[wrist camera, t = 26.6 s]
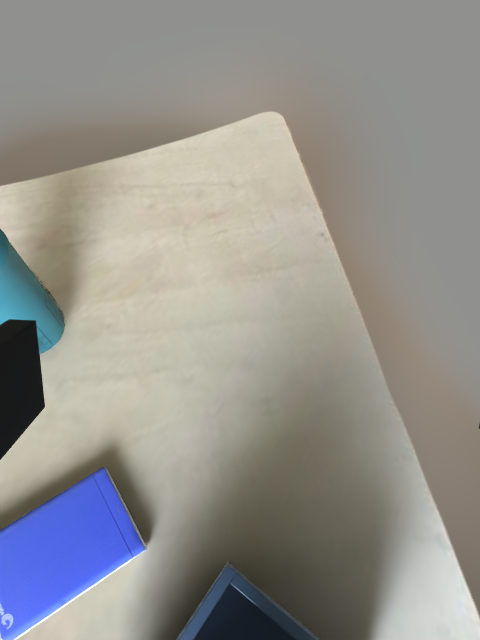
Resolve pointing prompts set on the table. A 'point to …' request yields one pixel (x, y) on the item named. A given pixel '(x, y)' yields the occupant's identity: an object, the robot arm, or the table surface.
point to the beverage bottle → (27, 297)
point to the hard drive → (63, 551)
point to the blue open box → (241, 613)
